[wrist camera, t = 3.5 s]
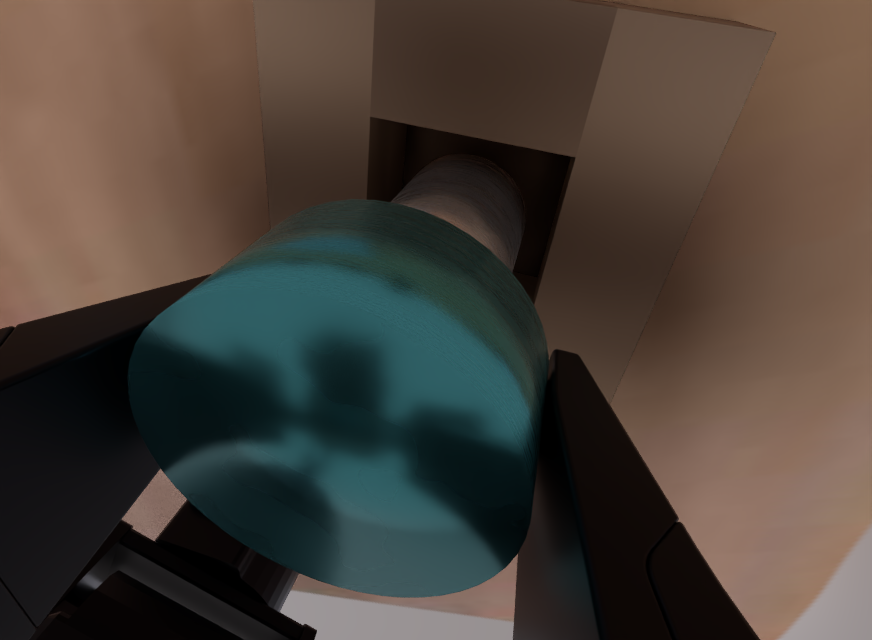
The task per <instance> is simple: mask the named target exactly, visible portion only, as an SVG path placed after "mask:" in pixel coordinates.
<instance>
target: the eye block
mask: <svg viewBox="0 0 872 640" xmlns="http://www.w3.org/2000/svg"><path fill="white" fill-rule="evenodd" d="M253 8H254V21H255V35H256V48H257V61H258V74H259V87H260V100H261V114H262V127H263V140H264V153H265V166H266V179H267V193H268V206H269V219H270V230H271V229H272V228H274V227H275V226H276V225H278V224H279V223H281V222H282V221H284V220H285V219H287V218H288V217H290V216H291V215H293V214H296V213H298V212H300V211H302V210H304V209H307V208H309V207H312V206H316V205H320V204H323V203H327V202H332V201H341V200H350V199H358V200H378V201H385V202H391V201H392V200H393V199H394V198H395V197H396V196H397V195H398V193H399V192H400V191H401V190H402V181H403V169H404V157H405V145H406V134H407V124H410V125H415V126H420V127H425V128H430V129H435V130H440V131H445V132H450V133H455V134H460V135H465V136H470V137H475V138H480V139H486V140H491V141H496V142H501V143H506V144H511V145H516V146H521V147H526V148H531V149H536V150H541V151H546V152H551V153H556V154H561V155H566V156H571V158H570V162H569V165H568V169H567V173H566V176H565V180H564V183H563V187H562V191H561V194H560V198H559V202H558V205H557V209H556V212H555V216H554V220H553V223H552V227H551V231H550V234H549V238H548V241H547V245H546V249H545V252H544V256H543V260H542V263H541V267H540V270H539V274H538V278H537V277H533V276H529V275H524V274H520V273H516V272H512V273H513V274H514V276H515V277H516V278H517V279H518V281H519V282H520V283H521V284H522V286H523V287H524V289H525V291H526V292H527V294H528V296H529V297H530V299H531V301H532V302H533V304H534V306H535V308H536V311H537V313H538V315H539V318H540V320H541V322H542V325H543V329H544V333H545V337H546V341H547V346H548V356H549V359H550V357H551V354H552V352H553V351H554V350H555V349H560V350H564V351H568V352H572V353H576V354H578V355H579V356H580V357H581V359H582V360H583V362H584V364H585V365H586V367H587V369H588V370H589V372H590V374H591V375H592V377H593V378H594V380H595V382H596V383H597V385H598V387H599V388H600V390H601V391H602V393H603V395H604V396H605V398H606V400H607V401H608V403H609V405H610V403H611V401H612V398H613V396H614V394H615V392H616V390H617V387H618V385H619V383H620V381H621V378H622V376H623V374H624V372H625V369H626V367H627V365H628V363H629V361H630V358H631V356H632V354H633V352H634V349H635V347H636V345H637V343H638V340H639V338H640V336H641V334H642V332H643V329H644V327H645V325H646V323H647V320H648V318H649V316H650V314H651V311H652V309H653V307H654V305H655V303H656V300H657V298H658V296H659V294H660V291H661V289H662V287H663V285H664V282H665V280H666V278H667V276H668V274H669V271H670V269H671V267H672V265H673V262H674V260H675V258H676V256H677V253H678V251H679V249H680V247H681V244H682V242H683V240H684V238H685V236H686V233H687V231H688V229H689V227H690V224H691V222H692V220H693V218H694V215H695V213H696V211H697V209H698V207H699V204H700V202H701V200H702V198H703V195H704V193H705V191H706V189H707V186H708V184H709V182H710V180H711V178H712V175H713V173H714V171H715V169H716V166H717V164H718V162H719V160H720V157H721V155H722V153H723V151H724V149H725V146H726V144H727V142H728V140H729V137H730V135H731V133H732V131H733V128H734V126H735V124H736V122H737V119H738V117H739V115H740V113H741V111H742V108H743V106H744V104H745V102H746V99H747V97H748V95H749V93H750V90H751V88H752V86H753V84H754V82H755V79H756V77H757V75H758V73H759V70H760V68H761V66H762V64H763V61H764V59H765V57H766V55H767V53H768V50H769V48H770V46H771V44H772V41H773V39H774V37H775V35H776V32H772V31H768V30H765V29H761V28H758V27H754V26H751V25H747V24H744V23H740V22H736V21H729V20H723V19H716V18H710V17H703V16H697V15H690V14H684V13H677V12H671V11H664V10H658V9H651V8H645V7H638V6H632V5H625V4H619V3H612V2H606V1H599V0H253Z"/></svg>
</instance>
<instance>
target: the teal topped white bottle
mask: <svg viewBox="0 0 872 640" xmlns="http://www.w3.org/2000/svg"><path fill="white" fill-rule="evenodd" d="M525 225H526V209H525V204H524V200H523V197H522V194H521V192H520V190H519V188H518V186H517V185H516V183H515V182H514V180H513V179H512V178H511V177H510V176H509V175H508V173H507V172H506V171H505V170H503V169H502V168H501V167H499V166H498V165H497V164H495V163H493V162H491V161H490V160H487V159H485V158H482V157H479V156H475V155H470V154H453V155H447V156H444V157H440V158H438V159H436V160H433V161H432V162H430V163H429V164H427V165H426V166H425V167H423V168H422V169H421V170H420V171H419V172H418V173H417V174H416V175H415V176H414V177H413V179H412V180H411V181H410V182H409V183H408V184H407V185H406V186H405V187H404V188H403V189H402V190H401V191H400V192H399V193H398V195H397V196H396V197H395V198H394V199H393V200H392V201H391V202H385V201H378V200H358V199H350V200H341V201H332V202H327V203H323V204H320V205H316V206H312V207H309V208H307V209H304V210H302V211H300V212H298V213H296V214H293V215H291V216H290V217H288V218H287V219H285V220H284V221H282V222H281V223H279V224H278V225H276V226H275V227H274V228H272V229H271V230H270V231H268V232H267V233H266V234H264V235H263V236H262V237H261V238H259V239H258V240H257V241H255V242H254V243H253V244H251V245H250V246H249V247H247V248H246V249H245V250H243V251H242V252H241V253H239V254H238V255H237V256H235V257H234V258H233V259H232V260H230V261H229V262H228V263H226V264H225V265H224V266H222V267H221V268H220V269H218V270H217V271H216V272H214V273H213V274H212V275H210V276H209V277H208V278H206V279H205V280H204V281H203V282H201V283H200V284H199V285H197V286H196V287H195V288H193V289H192V290H191V291H189V292H188V293H187V294H185V295H184V296H183V297H181V298H180V299H179V300H177V301H176V302H175V303H174V304H172V305H171V306H170V307H168V308H167V309H166V310H164V311H163V312H162V313H160V314H159V315H158V316H157V317H156V318H155V319H154V320H153V321H152V322H151V323H150V324H149V325H148V326H147V327H146V328H145V329H144V330H143V332H142V334H141V335H140V337H139V339H138V340H137V342H136V344H135V346H134V349H133V352H132V355H131V358H130V361H129V369H128V378H127V381H128V394H129V401H130V405H131V409H132V413H133V417H134V419H135V422H136V424H137V427H138V429H139V432H140V434H141V436H142V438H143V440H144V442H145V444H146V446H147V448H148V450H149V451H150V453H151V455H152V456H153V458H154V459H155V461H156V462H157V464H158V465H159V467H160V468H161V469H162V471H163V472H164V473H165V474H166V476H167V477H168V478H169V479H170V481H171V482H172V483H173V484H174V486H175V487H176V488H177V489H178V490H179V491H180V492H181V493H182V494H183V495H184V496H185V497H186V498H187V499H188V500H189V501H190V502H191V503H192V504H193V505H194V506H195V507H196V508H197V509H198V510H199V511H200V512H202V513H203V514H204V515H205V516H206V517H207V518H209V519H210V520H211V521H212V522H214V523H215V524H216V525H217V526H219V527H220V528H221V529H222V530H224V531H225V532H227V533H228V534H229V535H231V536H232V537H234V538H235V539H237V540H238V541H239V542H241V543H243V544H244V545H246V546H248V547H249V548H251V549H252V550H254V551H256V552H257V553H259V554H261V555H263V556H265V557H267V558H268V559H270V560H272V561H274V562H276V563H278V564H280V565H282V566H284V567H287V568H289V569H291V570H293V571H295V572H298V573H300V574H302V575H305V576H308V577H310V578H313V579H316V580H318V581H321V582H324V583H328V584H331V585H334V586H337V587H341V588H345V589H349V590H353V591H358V592H362V593H368V594H374V595H381V596H391V597H431V596H441V595H446V594H451V593H455V592H460V591H463V590H466V589H469V588H471V587H474V586H477V585H479V584H481V583H483V582H485V581H487V580H489V579H490V578H492V577H494V576H495V575H496V574H498V573H499V572H500V571H501V570H503V569H504V568H505V567H507V565H508V564H509V563H510V562H511V561H512V560H513V558H514V557H515V556H516V555H517V554H518V552H519V550H520V548H521V547H522V545H523V543H524V541H525V539H526V536H527V533H528V529H529V526H530V522H531V515H532V507H533V499H534V490H535V482H536V474H537V466H538V457H539V449H540V441H541V433H542V424H543V416H544V408H545V400H546V391H547V383H548V371H549V356H548V346H547V341H546V337H545V333H544V329H543V325H542V322H541V320H540V318H539V315H538V313H537V311H536V308H535V306H534V304H533V302H532V301H531V299H530V297H529V296H528V294H527V292H526V291H525V289H524V287H523V286H522V284H521V283H520V282H519V281H518V279H517V278H516V277H515V276H514V274H513V273H512V272H513V269H514V265H515V262H516V258H517V255H518V251H519V248H520V244H521V241H522V238H523V234H524V231H525Z"/></svg>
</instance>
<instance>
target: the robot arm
mask: <svg viewBox="0 0 872 640" xmlns="http://www.w3.org/2000/svg"><path fill="white" fill-rule="evenodd" d="M210 275H212V274H210ZM210 275H206V276H202V277H198V278H194V279H190V280H187V281H183V282H179V283H175V284H171V285H167V286H164V287H160V288H156V289H152V290H148V291H144V292H141V293H137V294H133V295H129V296H125V297H121V298H118V299H114V300H110V301H106V302H102V303H98V304H95V305H91V306H87V307H83V308H79V309H75V310H72V311H68V312H64V313H60V314H56V315H53V316H49V317H45V318H41V319H37V320H33V321H30V322H26V323H22V324H18V325H17V326H16V327H13V326H10V327H6V328H2V329H0V640H314V639H315V636H316V633H317V630H315V629H314V628H312V627H310V626H308V625H307V624H304V625H301V624H299V623H298V622H296V621H294V620H292V619H291V618H289V617H287V616H285V615H284V614H282V613H280V610H281V608H282V606H283V604H284V602H285V600H286V598H287V596H288V594H289V592H290V590H291V588H292V586H293V584H294V582H295V580H296V578H297V576H298V574H299V573H298V572H295V571H293V570H291V569H289V568H287V567H284V566H282V565H280V564H278V563H276V562H274V561H272V560H270V559H268V558H267V557H265V556H263V555H261V554H259V553H257V552H256V551H254V550H252V549H251V548H249V547H248V546H246V545H244V544H243V543H241V542H239V541H238V540H237V539H235V538H234V537H232V536H231V535H229V534H228V533H227V532H225V531H224V530H222V529H221V528H220V527H219V526H217V525H216V524H215V523H214V522H212V521H211V520H210V519H209V518H207V517H206V516H205V515H204V514H203V513H202V512H200V511H199V510H198V509H197V508H196V507H195V506H194V505H193V504H192V503H191V502H190V501H189V500H188V499H187V500H186V502H185V503H184V504H183V505H182V507H181V508H180V509H179V511H178V512H177V513H176V514H175V516H174V517H173V518H172V519H171V521H170V522H169V523H168V524H167V526H166V527H165V528H164V530H163V531H162V532H161V533H160V535H159V536H158V537H157V538H156V540H155V541H153V540H151V539H149V538H147V537H146V536H144V535H142V534H140V533H139V532H137V531H135V530H133V529H132V528H133V526H132V525H130V524H128V523H127V522H125V521H123V520H121V519H122V518H123V516H124V515H125V514H126V513H127V511H128V510H129V509H130V507H131V506H132V505H133V503H134V502H135V501H136V500H137V498H138V497H139V496H140V494H141V493H142V492H143V490H144V489H145V488H146V487H147V485H148V484H149V483H150V481H151V480H152V479H153V477H154V476H155V475H156V474H157V472H158V471H159V470H160V467H159V465H158V464H157V462H156V461H155V459H154V458H153V456H152V455H151V453H150V451H149V450H148V448H147V446H146V444H145V442H144V440H143V438H142V436H141V434H140V432H139V429H138V427H137V424H136V422H135V419H134V417H133V413H132V409H131V405H130V401H129V394H128V381H127V378H128V369H129V361H130V358H131V355H132V352H133V349H134V346H135V344H136V342H137V340H138V339H139V337H140V335H141V334H142V332H143V330H144V329H145V328H146V327H147V326H148V325H149V324H150V323H151V322H152V321H153V320H154V319H155V318H156V317H157V316H158V315H159V314H160V313H162V312H163V311H164V310H166V309H167V308H168V307H170V306H171V305H172V304H174V303H175V302H176V301H177V300H179V299H180V298H181V297H183V296H184V295H185V294H187V293H188V292H189V291H191V290H192V289H193V288H195V287H196V286H197V285H199V284H200V283H201V282H203V281H204V280H205V279H206V278H208V277H209V276H210ZM678 520H679V518H678V516H677V514H676V513H675V511H674V509H673V508H672V506H671V504H670V503H669V501H668V499H667V498H666V496H665V495H664V493H663V491H662V490H661V488H660V486H659V485H658V483H657V481H656V480H655V478H654V477H653V475H652V473H651V472H650V470H649V468H648V467H647V465H646V463H645V462H644V460H643V459H642V457H641V455H640V454H639V452H638V450H637V449H636V447H635V445H634V444H633V442H632V441H631V439H630V437H629V436H628V434H627V432H626V431H625V429H624V427H623V426H622V424H621V423H620V421H619V419H618V418H617V416H616V414H615V413H614V411H613V409H612V408H611V406H610V405H609V403H608V401H607V400H606V398H605V396H604V395H603V393H602V391H601V390H600V388H599V387H598V385H597V383H596V382H595V380H594V378H593V377H592V375H591V374H590V372H589V370H588V369H587V367H586V365H585V364H584V362H583V360H582V359H581V357H580V356H579V355H578V354H576V353H572V352H568V351H564V350H560V349H555V350H554V351H553V352H552V354H551V357H550V359H549V371H548V383H547V391H546V400H545V408H544V416H543V424H542V433H541V441H540V449H539V457H538V466H537V474H536V482H535V490H534V499H533V507H532V515H531V522H530V526H529V529H528V533H527V536H526V539H525V541H524V543H523V545H522V547H521V548H520V550H519V552H518V563H517V580H516V597H515V613H514V631H513V640H760V639H759V637H758V636H757V635H756V633H755V632H754V630H753V629H752V628H751V626H750V625H749V623H748V622H747V621H746V619H745V618H744V616H743V615H742V614H741V612H740V611H739V609H738V608H737V606H736V605H735V604H734V602H733V601H732V599H731V598H730V597H729V595H728V594H727V592H726V591H725V589H724V588H723V587H722V585H721V584H720V582H719V581H718V579H717V577H716V576H715V574H714V573H713V571H712V570H711V568H710V567H709V565H708V563H707V562H706V560H705V559H704V557H703V556H702V554H701V553H700V551H699V550H698V548H697V546H696V545H695V543H694V542H693V540H692V538H691V537H690V535H689V533H688V532H687V530H686V528H685V527H684V525H683V524H682V523H681V522H678Z"/></svg>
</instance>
